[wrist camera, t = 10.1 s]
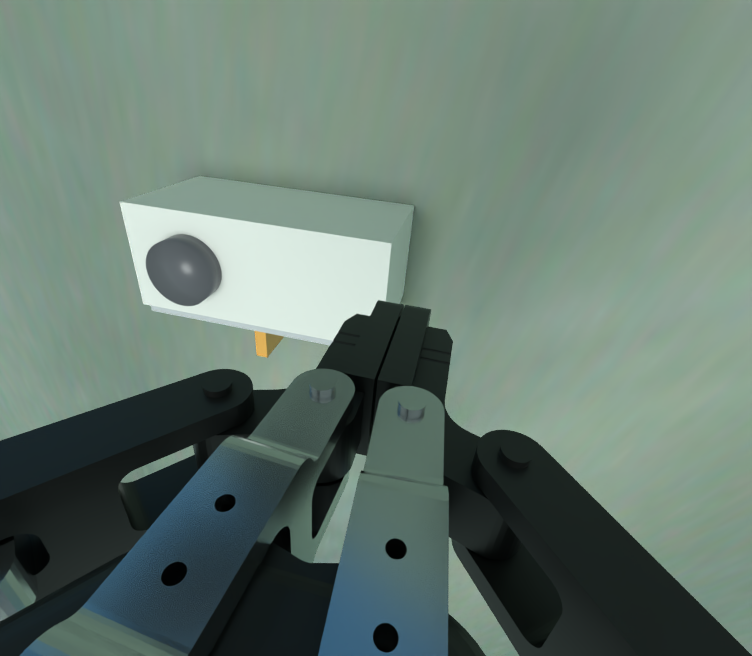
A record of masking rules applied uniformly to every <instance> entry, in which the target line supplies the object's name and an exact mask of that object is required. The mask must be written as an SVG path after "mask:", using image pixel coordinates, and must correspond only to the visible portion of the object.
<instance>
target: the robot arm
mask: <svg viewBox="0 0 752 656" xmlns="http://www.w3.org/2000/svg"><path fill="white" fill-rule="evenodd" d="M430 314H431V309H426V308H420V307H415V306H409V305H405V307H404V305H403V304H397V303H392V302H386V301H380V300H378V301H377V303H376V305H375V307H374V309H373V311H372V313H371V315H370V316H367V315H362V314H355V315H354V316H352V317H351V318H349V319H347V320H346V321H344V323H343V325H342V326H341V328H340V330H339V331H338V333H337V335H336V336H335V338H334V340H333V342H332V343H331V345H330V346H329V348H328V350H327V351H326V353H325V355H324V356H323V358H322V360H321V361H320V363H319V365H318V366H317V368H316V369H314V370H309V371H307V372H304V373H302V374H300V375H299V376H297V377H296V378H295V379H294V380H293V382H292V383H291V384H290V385H289V387H288V388H287V389H279V390H253V384H252V381H251V379H250V378H249V377H248V376H247V375H246V374H244V373H242V372H240V371H236V370H231V369H218V370H212V371H208V372H205V373H202V374H199V375H196V376H193V377H190V378H187V379H184V380H181V381H178V382H175V383H172V384H169V385H166V386H163V387H160V388H157V389H154V390H151V391H148V392H145V393H142V394H139V395H136V396H133V397H130V398H127V399H124V400H121V401H118V402H115V403H112V404H109V405H106V406H103V407H100V408H97V409H94V410H91V411H88V412H85V413H82V414H79V415H76V416H73V417H70V418H67V419H64V420H61V421H58V422H55V423H52V424H49V425H46V426H43V427H40V428H37V429H34V430H31V431H28V432H25V433H22V434H19V435H16V436H13V437H10V438H7V439H4V440H1V441H0V656H486V655H485V654H484V653H483V651H482V650H481V648H480V647H479V645H478V644H477V643H476V641H475V640H474V639H473V638H472V637H471V635H470V634H469V633H468V632H467V631H466V629H464V628H463V627H462V626H461V625H460V624H459V623H458V622H457V621H456V620H455V619H454V618H453V617H452V616H451V615H449V614H448V559H449V537H450V538H452V545H453V548H454V551H455V553H456V555H457V556H458V558H459V560H460V561H461V563H462V564H463V566H464V568H465V569H466V571H467V572H468V574H469V576H470V577H471V579H472V580H473V582H474V584H475V585H476V587H477V588H478V590H479V592H480V593H481V595H482V596H483V598H484V600H485V601H486V603H487V604H488V606H489V608H490V609H491V611H492V612H493V614H494V616H495V617H496V619H497V620H498V622H499V624H500V625H501V627H502V628H503V630H504V632H505V633H506V635H507V636H508V638H509V640H510V641H511V643H512V644H513V646H514V648H515V649H516V651H517V652H518V654H519V656H752V655H751V654H750V653H749V652H748V651H747V650H746V649H745V648H744V647H743V646H742V645H741V644H740V643H739V642H738V641H737V640H736V639H735V638H734V637H733V636H732V635H731V634H730V633H729V632H728V631H727V630H726V629H725V628H724V627H723V626H722V625H721V624H720V623H719V622H718V621H717V620H716V619H715V618H714V617H713V616H712V615H711V614H710V613H709V612H708V611H707V610H706V609H705V608H704V607H703V606H702V605H701V604H700V603H699V602H698V601H697V600H696V599H695V598H694V597H693V596H692V595H691V594H690V593H689V592H688V591H687V590H686V589H685V588H684V587H683V586H682V585H681V584H680V583H679V582H678V581H677V580H676V579H675V578H673V577H672V576H671V575H670V574H669V573H668V572H667V571H666V570H665V569H664V568H663V567H662V566H661V565H660V564H659V563H658V562H657V561H656V560H655V559H654V558H653V557H652V556H651V555H650V554H649V553H648V552H647V551H646V550H645V549H644V548H643V547H642V546H641V545H640V544H639V543H638V542H637V541H636V540H635V539H634V538H633V537H632V536H631V535H630V534H629V533H628V532H627V531H626V530H625V529H624V528H623V527H622V526H621V525H620V524H619V523H618V522H617V521H616V520H615V519H614V518H613V517H612V516H611V515H610V514H609V513H608V512H607V511H606V510H605V509H604V508H603V507H602V506H601V505H600V504H599V503H598V502H597V501H596V500H595V499H594V498H593V497H592V496H591V495H590V494H589V493H588V492H587V491H586V490H585V489H584V488H583V487H582V486H581V485H580V484H579V483H578V482H577V481H576V480H575V479H574V478H573V477H572V476H571V475H570V474H569V473H568V472H567V471H566V470H565V469H564V468H563V467H562V466H561V465H560V464H559V463H558V462H557V461H556V460H555V459H554V458H553V457H552V456H551V455H550V454H549V453H548V452H547V451H546V450H545V449H544V448H543V447H542V446H541V445H539V444H538V443H537V442H536V441H534V440H533V439H531V438H529V437H528V436H526V435H523V434H521V433H518V432H515V431H510V430H495V431H491V432H488V433H486V434H485V435H483V436H482V437H478V436H476V435H474V434H472V433H470V432H468V431H466V430H465V429H463V428H461V427H460V426H458V425H457V424H456V423H455V422H454V421H453V420H452V419H451V418H450V416H449V415H448V413H447V411H446V409H445V394H446V387H447V380H448V373H449V364H450V358H451V351H452V343H453V341H452V339H451V337H450V336H449V334H448V332H447V330H443V329H438V328H433V327H428V326H429V320H430ZM191 445H193V448H194V453H195V455H193V456H191V457H189V458H186V459H184V460H182V461H179V462H177V463H175V464H173V465H170V466H168V467H166V468H163V469H161V470H159V471H157V472H154V473H152V474H150V475H147V476H145V477H143V478H141V479H138V480H136V481H133V482H129V483H121V482H120V481H121V480H122V479H123V478H124V477H125V476H126V475H127V474H128V473H130V472H131V471H133V470H135V469H137V468H139V467H142V466H144V465H146V464H149V463H151V462H154V461H156V460H158V459H161V458H163V457H165V456H168V455H170V454H172V453H175V452H177V451H179V450H182V449H184V448H187V447H189V446H191ZM356 453H357V454H362V455H366V456H367V457H366V462H365V466H364V470H363V471H361V472H360V476H359V479H358V483H357V488H356V492H355V496H354V501H353V505H352V509H351V514H350V518H349V523H348V527H347V531H346V536H345V540H344V544H343V549H342V553H341V557H340V562H339V563H313V561H314V557H315V554H316V551H317V549H318V546H319V544H320V542H321V539H322V537H323V535H324V533H325V531H326V528H327V526H328V524H329V522H330V519H331V517H332V515H333V513H334V511H335V508H336V506H337V504H338V502H339V500H340V497H341V495H342V493H343V491H344V488H345V486H346V484H347V482H348V479H349V470H350V468H351V466H352V463H353V461H354V458H355V455H356Z"/></svg>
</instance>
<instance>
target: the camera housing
mask: <svg viewBox="0 0 752 656" xmlns="http://www.w3.org/2000/svg"><path fill="white" fill-rule="evenodd" d="M120 206H121V210H122V214H123V218H124V223H125V227H126V231H127V236H128V240H129V244H130V248H131V253H132V257H133V261H134V265H135V270H136V274H137V278H138V283H139V287H140V291H141V295H142V300H143V304H146V305H151V308H152V311H157V312H162V313H167V314H172V315H177V316H182V317H188V318H193V319H198V320H203V321H208V322H213V323H218V324H223V325H228V326H233V327H239V328H244V329H249V330H254V331H259V332H264V333H269V334H274V335H279V336H284V337H290V338H295V339H300V340H305V341H310V342H315V343H320V344H325V345H331V343H332V342H333V340H334V338H335V336H336V335H337V333H338V331H339V330H340V328H341V326H342V325H343V323H344V321H346V320H347V319H349V318H351V317H352V316H354V315H355V314H362V315H367V316H370V315H371V313H372V311H373V309H374V307H375V305H376V303H377V301H378V300H380V301H386V302H392V303H397V304H400V302H401V299H402V296H403V294H404V286H405V278H406V270H407V261H408V253H409V245H410V237H411V229H412V221H413V213H414V205H407V204H400V203H392V202H385V201H378V200H371V199H364V198H356V197H349V196H342V195H335V194H327V193H320V192H313V191H306V190H299V189H291V188H284V187H277V186H270V185H262V184H255V183H248V182H241V181H233V180H226V179H219V178H212V177H205V176H198V177H195V178H191V179H188V180H185V181H182V182H179V183H176V184H173V185H170V186H167V187H164V188H160V189H157V190H154V191H151V192H148V193H145V194H142V195H139V196H136V197H133V198H129V199H126V200H123V201H120Z"/></svg>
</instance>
